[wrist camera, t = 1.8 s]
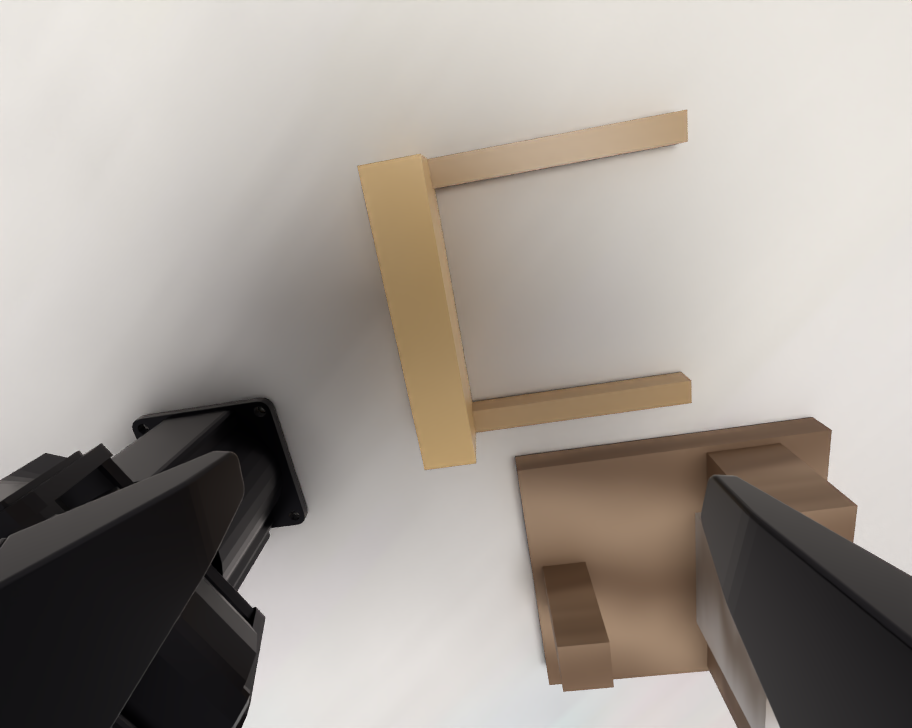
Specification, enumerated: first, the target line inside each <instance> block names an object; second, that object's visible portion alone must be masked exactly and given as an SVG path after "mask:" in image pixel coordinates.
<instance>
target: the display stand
mask: <svg viewBox="0 0 912 728" xmlns="http://www.w3.org/2000/svg"><path fill="white" fill-rule="evenodd" d="M831 432H832V430H831V429H829V428H828V427H826V426H825V425H823V424H822V423H820V422H819V421H817V420H816V419H814V418H813V417H811V418H804V419H796V420H789V421H781V422H773V423H766V424H758V425H751V426H743V427H736V428H728V429H721V430H713V431H706V432H698V433H691V434H683V435H675V436H668V437H660V438H653V439H645V440H638V441H630V442H623V443H615V444H608V445H600V446H592V447H585V448H577V449H570V450H562V451H555V452H547V453H540V454H532V455H525V456H517V457H515V460H516V466H517V473H518V480H519V486H520V493H521V500H522V506H523V513H524V520H525V526H526V533H527V540H528V546H529V553H530V559H531V566H532V573H533V579H534V586H535V593H536V599H537V606H538V613H539V619H540V626H541V633H542V639H543V646H544V652H545V659H546V666H547V672H548V679H549V685H555V684H562V687H563V692H565V691H576V690H588V689H599V688H610V687H614V684H613V679H622V678H633V677H645V676H656V675H667V674H678V673H689V672H700V671H710V673H711V675H712V677H713V679H714V681H715V683H716V685H717V687H718V689H719V691H720V693H721V695H722V697H723V699H724V701H725V703H726V705H727V707H728V709H729V711H730V713H731V715H732V717H733V719H734V721H735V723H736V726H737V728H780V727H779V724H778V722H777V720H776V718H775V715H774V713H773V711H772V708H771V706H770V704H769V701H768V699H767V697H766V694H765V692H764V690H763V688H762V685H761V683H760V681H759V678H758V676H757V674H756V671H755V669H754V667H753V665H752V662H751V660H750V658H749V655H748V653H747V651H746V648H745V646H744V644H743V642H742V639H741V637H740V635H739V632H738V630H737V628H736V625H735V623H734V621H733V618H732V616H731V614H730V611H729V609H728V606H727V604H726V601H725V598H724V595H723V592H722V589H721V585H720V582H719V579H718V576H717V572H716V569H715V566H714V563H713V559H712V556H711V553H710V550H709V546H708V543H707V540H706V537H705V533H704V530H703V527H702V522H701V511H702V506H703V501H704V496H705V492H706V487H707V483H708V480H709V478H710V477H711V476H712V475H733V476H737V477H739V478H741V479H742V480H744V481H746V482H748V483H749V484H751V485H753V486H755V487H756V488H758V489H760V490H762V491H763V492H765V493H767V494H769V495H770V496H772V497H774V498H776V499H777V500H779V501H781V502H783V503H784V504H786V505H788V506H790V507H791V508H793V509H795V510H797V511H798V512H800V513H802V514H804V515H805V516H807V517H809V518H811V519H812V520H814V521H816V522H818V523H819V524H821V525H823V526H825V527H826V528H828V529H830V530H832V531H833V532H835V533H837V534H839V535H840V536H842V537H844V538H846V539H847V540H849V541H851V542H853V540H854V531H855V522H856V514H857V505H856V504H855V503H854V502H852V501H851V500H850V499H849V498H848V497H846V496H845V495H844V494H843V493H841V492H840V491H839V490H838V489H836V488H835V487H834V486H833V485H832V484H830V483H829V482H828V481H827V477H828V466H829V455H830V443H831Z"/></svg>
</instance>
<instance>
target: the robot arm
mask: <svg viewBox="0 0 912 728" xmlns="http://www.w3.org/2000/svg"><path fill="white" fill-rule="evenodd" d="M258 407H262V408H264V410H265V413H261V412H260V411H259V410H258ZM144 424H145V425H146V426H147V427H148V428H149V430H148V429H146V428H145V427H144ZM132 428H133V432H134V434H135V436H136V438H137V440H136V441H135V442H133V443H132V444H130V445H129V446H128V447H126V448H125V449H124V450H122V451H121V452H120V453H118V454H117V455H115V456H114V457H113V458H110V457H111V456H112V454H111V453H110V452H109V451H108V449H107V448H106V447H105V446H104V445H103V444H102V443H101V444H100V445H98V446H97V447H95V448H93V449H92V450H90V451H89V452H87V453H86V454H84V455H83V454H82V453H81V452H80V451H77V452H76V453H74V454H72V455H71V456H69V457H68V458H66V457H61V456H57V455H52V454H48V453H45V454H43V455H41V456H40V457H38V458H37V459H35V460H33V461H32V462H30V463H28V464H27V465H25V466H23V467H22V468H20V469H18V470H17V471H15V472H13V473H12V474H10V475H8V476H7V477H5V478H3V479H2V480H0V728H242V725H243V723H244V721H245V719H246V716H247V713H248V709H249V706H250V702H251V696H252V691H253V685H254V679H255V674H256V668H257V662H258V657H259V651H260V645H261V640H262V634H263V628H264V623H265V616H264V615H263V614H262V613H261V612H260V611H259V610H258V609H257V608H256V607H254V608H252V607H251V606H250V605H249V604H248V603H247V602H246V600H245V599H244V598H243V597H242V596H241V595H240V594H239V593H238V592H237V591H238V589H239V587H240V586H241V584H242V582H243V581H244V579H245V577H246V576H247V574H248V572H249V571H250V569H251V567H252V566H253V564H254V562H255V561H256V559H257V557H258V556H259V554H260V552H261V550H262V549H263V547H264V545H265V544H266V542H267V540H268V539H269V537H270V533H269V530H270V528H274V527H282V526H290V525H298V524H301V523H302V522H303V521H304V519H305V517H306V515H307V507H306V504H305V501H304V498H303V495H302V492H301V489H300V486H299V483H298V479H297V476H296V473H295V470H294V467H293V464H292V461H291V458H290V455H289V452H288V448H287V445H286V442H285V439H284V436H283V433H282V430H281V427H280V424H279V421H278V417H277V414H276V411H275V408H274V406H273V404H272V402H270V401H269V400H268V399H265V398H256V399H250V400H243V401H236V402H230V403H223V404H216V405H210V406H203V407H196V408H190V409H183V410H177V411H170V412H163V413H157V414H150V415H144V416H142V417H140V418H138V419H137V420H136V421H135V422H134V423H133V426H132ZM293 511H294V512H297V513H298V514H299V515H295V514H294V513H293ZM701 522H702V527H703V530H704V533H705V537H706V540H707V543H708V546H709V550H710V553H711V556H712V559H713V563H714V566H715V569H716V572H717V576H718V579H719V582H720V585H721V589H722V592H723V595H724V598H725V601H726V604H727V606H728V609H729V611H730V614H731V616H732V618H733V621H734V623H735V625H736V628H737V630H738V632H739V635H740V637H741V639H742V642H743V644H744V646H745V648H746V651H747V653H748V655H749V658H750V660H751V662H752V665H753V667H754V669H755V671H756V674H757V676H758V678H759V681H760V683H761V685H762V688H763V690H764V692H765V694H766V697H767V699H768V701H769V704H770V706H771V708H772V711H773V713H774V715H775V718H776V720H777V722H778V724H779V727H780V728H912V576H910V575H909V574H907V573H905V572H903V571H902V570H900V569H898V568H896V567H895V566H893V565H891V564H889V563H888V562H886V561H884V560H882V559H881V558H879V557H877V556H875V555H874V554H872V553H870V552H868V551H867V550H865V549H863V548H861V547H860V546H858V545H856V544H854V543H853V542H851V541H849V540H847V539H846V538H844V537H842V536H840V535H839V534H837V533H835V532H833V531H832V530H830V529H828V528H826V527H825V526H823V525H821V524H819V523H818V522H816V521H814V520H812V519H811V518H809V517H807V516H805V515H804V514H802V513H800V512H798V511H797V510H795V509H793V508H791V507H790V506H788V505H786V504H784V503H783V502H781V501H779V500H777V499H776V498H774V497H772V496H770V495H769V494H767V493H765V492H763V491H762V490H760V489H758V488H756V487H755V486H753V485H751V484H749V483H748V482H746V481H744V480H742V479H741V478H739V477H737V476H733V475H712V476H711V477H710V478H709V480H708V483H707V487H706V492H705V496H704V501H703V506H702V511H701Z"/></svg>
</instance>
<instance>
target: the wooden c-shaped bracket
mask: <svg viewBox="0 0 912 728" xmlns="http://www.w3.org/2000/svg"><path fill="white" fill-rule="evenodd" d="M687 141H688V132H687V110H683V111H677V112H672V113H667V114H662V115H656V116H651V117H646V118H641V119H635V120H630V121H625V122H620V123H615V124H609V125H604V126H599V127H594V128H588V129H583V130H578V131H573V132H567V133H562V134H557V135H552V136H546V137H541V138H536V139H531V140H525V141H520V142H515V143H510V144H504V145H499V146H494V147H489V148H483V149H478V150H473V151H468V152H462V153H457V154H452V155H447V156H442V157H436V158H431V159H427V158H425V157H424V156H422V155H421V154H417V155H412V156H406V157H401V158H396V159H391V160H386V161H380V162H375V163H370V164H365V165H360V166H357V167H358V171H359V176H360V180H361V185H362V189H363V194H364V198H365V203H366V207H367V212H368V216H369V221H370V225H371V230H372V235H373V239H374V244H375V248H376V253H377V257H378V262H379V266H380V271H381V275H382V280H383V284H384V289H385V293H386V298H387V302H388V307H389V311H390V316H391V320H392V325H393V329H394V334H395V338H396V343H397V347H398V352H399V356H400V361H401V365H402V370H403V374H404V379H405V383H406V388H407V392H408V397H409V401H410V406H411V410H412V415H413V419H414V424H415V428H416V433H417V437H418V442H419V446H420V451H421V455H422V460H423V464H424V469H425V470H429V469H437V468H444V467H452V466H459V465H467V464H474V463H476V433H477V432H484V431H491V430H499V429H506V428H513V427H520V426H528V425H535V424H542V423H549V422H557V421H564V420H571V419H578V418H586V417H593V416H600V415H607V414H615V413H622V412H629V411H636V410H644V409H651V408H658V407H665V406H673V405H680V404H687V403H692V402H691V380H690V379H689V378H688V377H686V376H685V375H684V374H683V373H682V372H678V373H671V374H664V375H657V376H650V377H643V378H636V379H629V380H622V381H615V382H608V383H602V384H595V385H588V386H581V387H574V388H567V389H560V390H553V391H546V392H539V393H532V394H525V395H518V396H511V397H504V398H497V399H490V400H483V401H476V402H472V397H471V392H470V386H469V380H468V375H467V369H466V363H465V357H464V352H463V346H462V340H461V335H460V329H459V323H458V318H457V312H456V306H455V301H454V295H453V289H452V284H451V278H450V272H449V267H448V261H447V255H446V249H445V244H444V238H443V232H442V227H441V221H440V215H439V210H438V204H437V198H436V193H435V189H436V188H442V187H447V186H453V185H458V184H464V183H469V182H474V181H480V180H485V179H491V178H496V177H501V176H507V175H512V174H518V173H523V172H528V171H534V170H539V169H545V168H550V167H555V166H561V165H566V164H572V163H577V162H583V161H588V160H593V159H599V158H604V157H610V156H615V155H620V154H626V153H631V152H637V151H642V150H647V149H653V148H658V147H664V146H669V145H674V144H679V143H683V142H687Z"/></svg>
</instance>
